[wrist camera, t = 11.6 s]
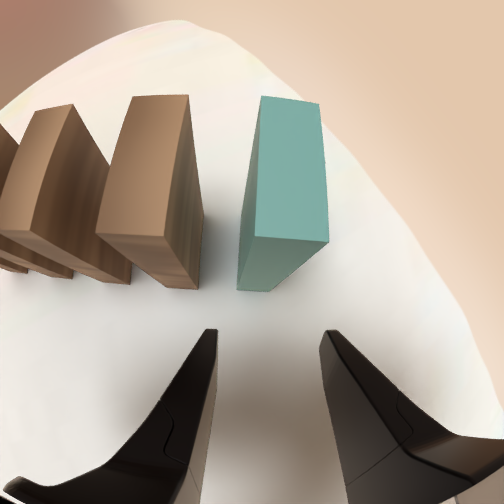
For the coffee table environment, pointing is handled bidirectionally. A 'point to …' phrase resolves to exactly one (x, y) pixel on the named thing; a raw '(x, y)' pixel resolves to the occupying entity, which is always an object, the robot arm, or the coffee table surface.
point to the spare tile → (283, 194)
